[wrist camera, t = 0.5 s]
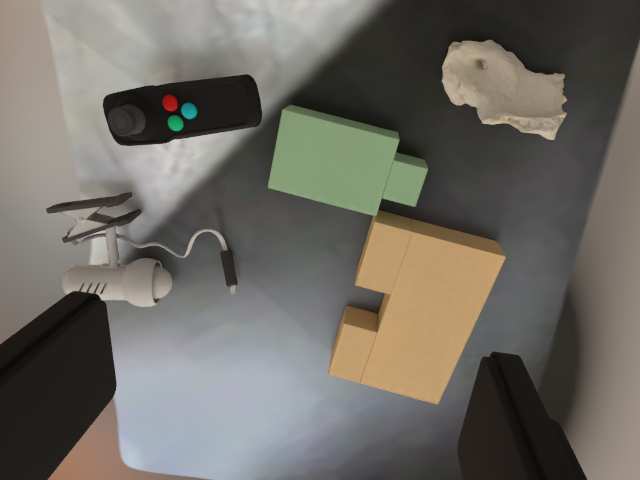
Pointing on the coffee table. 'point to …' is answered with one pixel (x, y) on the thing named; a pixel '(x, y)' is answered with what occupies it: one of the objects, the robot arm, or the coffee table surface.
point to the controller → (182, 110)
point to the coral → (503, 88)
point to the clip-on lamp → (114, 279)
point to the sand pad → (414, 306)
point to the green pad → (342, 162)
